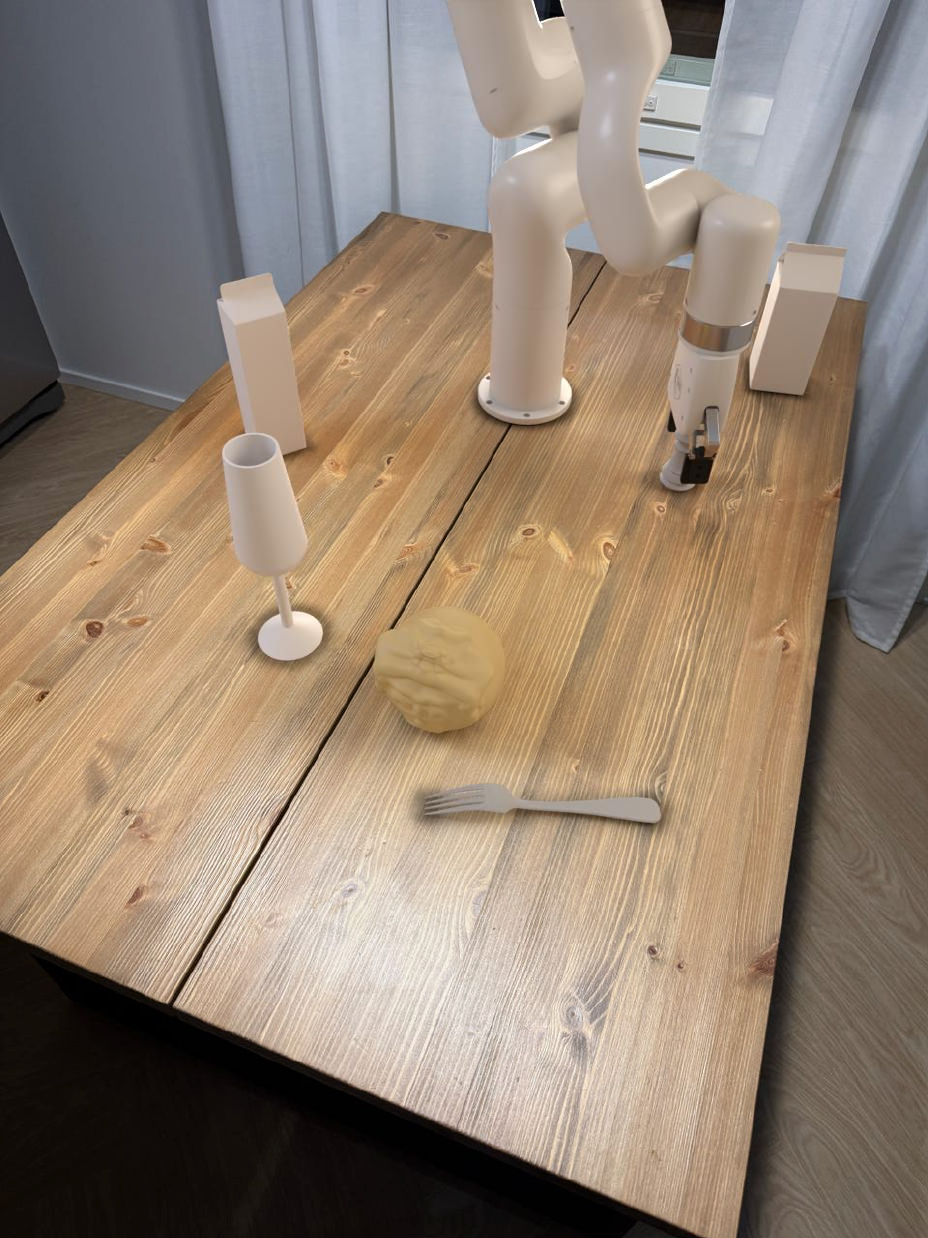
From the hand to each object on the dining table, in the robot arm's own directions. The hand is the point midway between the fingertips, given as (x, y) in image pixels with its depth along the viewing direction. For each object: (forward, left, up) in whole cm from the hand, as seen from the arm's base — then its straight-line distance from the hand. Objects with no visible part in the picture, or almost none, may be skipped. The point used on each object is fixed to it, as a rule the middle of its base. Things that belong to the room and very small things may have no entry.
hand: (686, 455), depth 105 cm
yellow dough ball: (+33, -28, -4) cm, 43 cm away
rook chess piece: (0, 0, -4) cm, 4 cm away
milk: (-7, -50, -4) cm, 51 cm away
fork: (+45, -19, -4) cm, 49 cm away
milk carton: (-22, +17, -4) cm, 28 cm away
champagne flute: (+25, -44, -4) cm, 51 cm away
